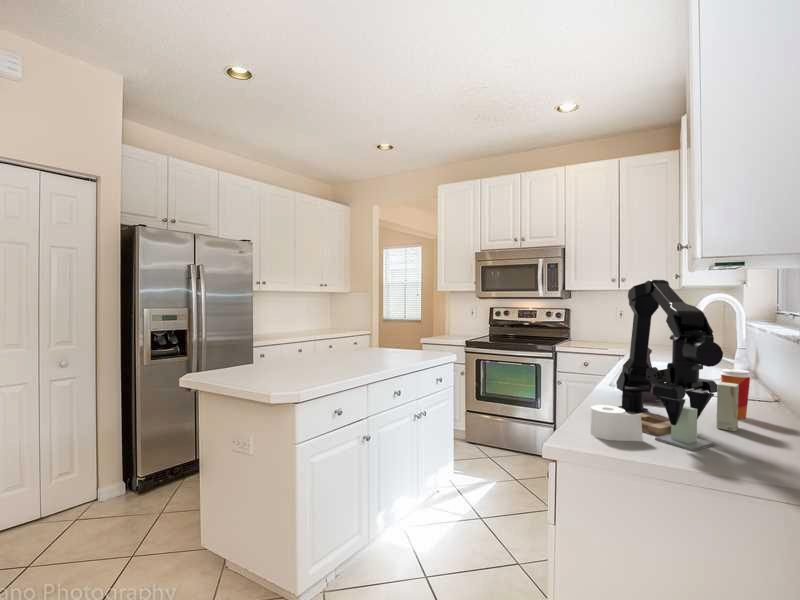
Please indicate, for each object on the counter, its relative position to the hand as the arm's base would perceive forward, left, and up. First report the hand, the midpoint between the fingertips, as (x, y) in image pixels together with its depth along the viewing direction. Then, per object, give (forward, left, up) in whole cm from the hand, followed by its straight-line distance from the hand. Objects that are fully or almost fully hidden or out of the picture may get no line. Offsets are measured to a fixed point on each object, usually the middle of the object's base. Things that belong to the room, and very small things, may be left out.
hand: (684, 422), depth 112 cm
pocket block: (-5, -11, -5) cm, 14 cm away
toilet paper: (+12, -11, -5) cm, 17 cm away
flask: (-36, -33, -5) cm, 49 cm away
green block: (0, 0, -4) cm, 4 cm away
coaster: (0, 0, -5) cm, 5 cm away
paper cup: (-39, -6, -5) cm, 40 cm away
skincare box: (-24, -1, -5) cm, 25 cm away
